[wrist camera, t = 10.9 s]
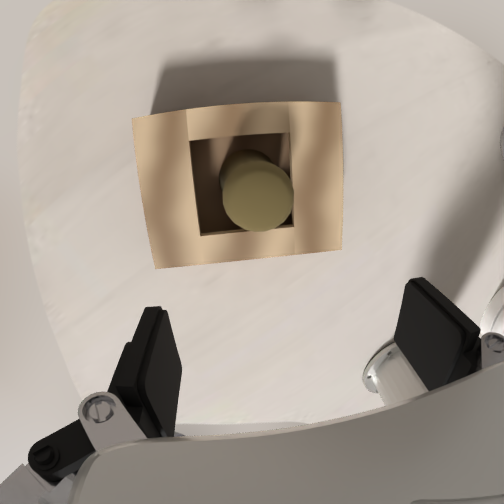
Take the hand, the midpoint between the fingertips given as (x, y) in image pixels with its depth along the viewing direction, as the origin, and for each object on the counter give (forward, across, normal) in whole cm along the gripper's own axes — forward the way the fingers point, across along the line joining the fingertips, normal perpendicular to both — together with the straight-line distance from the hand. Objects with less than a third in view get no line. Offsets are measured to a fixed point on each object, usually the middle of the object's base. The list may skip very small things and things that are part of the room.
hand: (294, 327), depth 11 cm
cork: (+22, 0, -2) cm, 22 cm away
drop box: (+22, +1, -3) cm, 23 cm away
